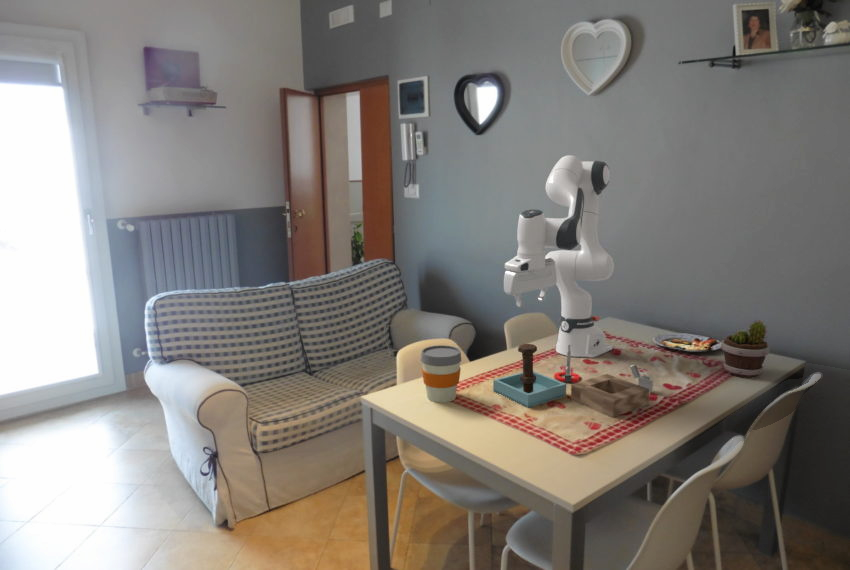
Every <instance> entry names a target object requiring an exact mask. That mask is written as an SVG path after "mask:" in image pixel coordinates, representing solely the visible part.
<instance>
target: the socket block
mask: <svg viewBox="0 0 850 570" xmlns="http://www.w3.org/2000/svg"><path fill="white" fill-rule="evenodd" d="M570 384H571V387H570V389H571V390H570V400H571V401H572V400H573V401H572V402H575V403H577V404H579V403H580V405H582V406H584V405H585V406H584V407H587V408H589V407H590V408H589V409H591V408H592V410H594V409H595V410H594V411H596V412H598V411H599V412H598V413H601V414H604V415H606V416H609V417H611V418H615V417H618V416H620V415H623V414H627V413H630V412H632V411H634V410H638V409H641V408H644V407H646V406H645V405H647V406H649V405H648V404H649V403H650V393H649V389H648V388H645V387H642V386H640V385H638V383H633V382H631V381H628V380H625V379H622V378H620V377H617V376H614V375H611V374H608V373H606V374H602V375H598V376H596V377H592V378H589V379H585V380H581V381H578V383H570ZM643 406H644V407H643ZM640 407H641V408H640ZM629 411H630V412H629Z"/></svg>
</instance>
